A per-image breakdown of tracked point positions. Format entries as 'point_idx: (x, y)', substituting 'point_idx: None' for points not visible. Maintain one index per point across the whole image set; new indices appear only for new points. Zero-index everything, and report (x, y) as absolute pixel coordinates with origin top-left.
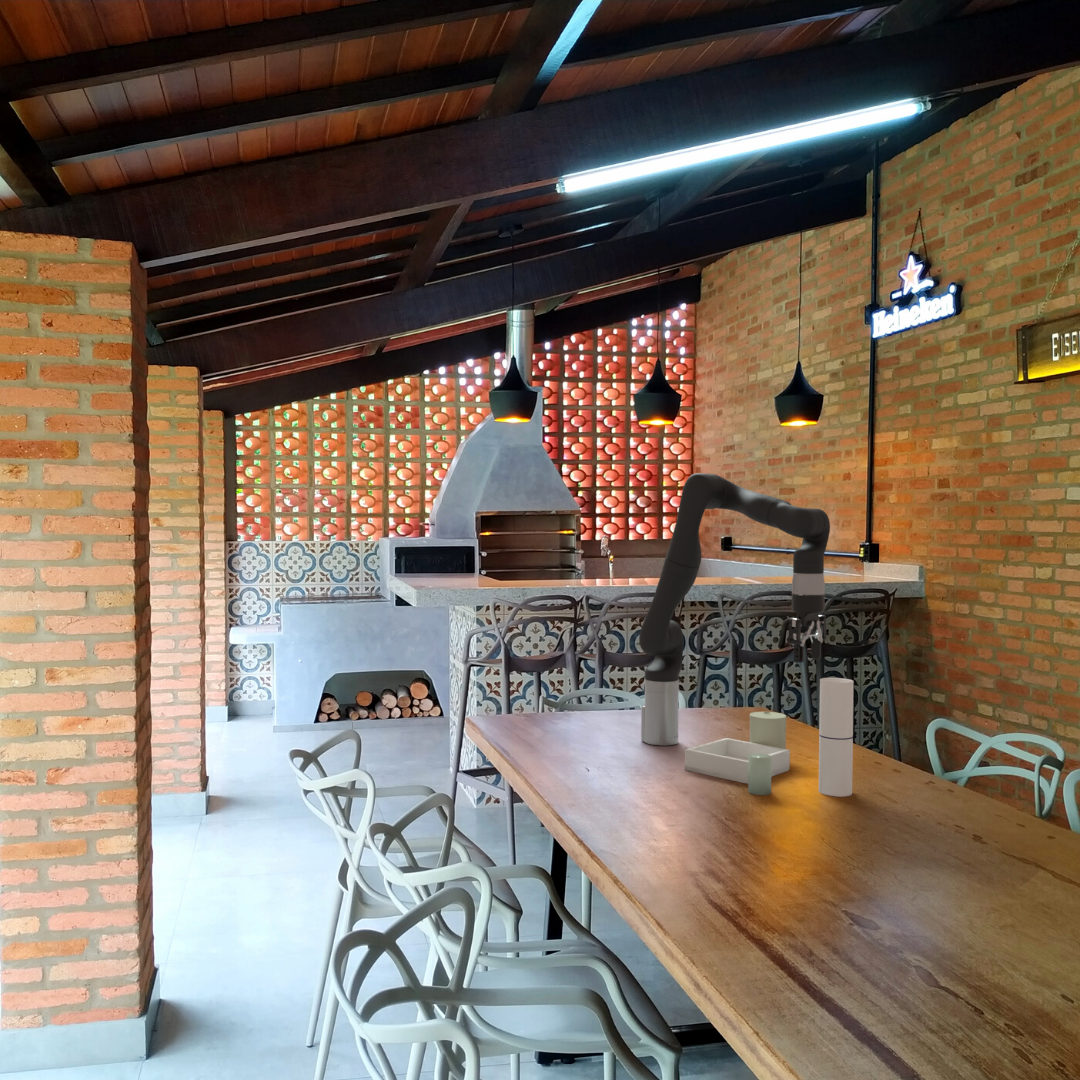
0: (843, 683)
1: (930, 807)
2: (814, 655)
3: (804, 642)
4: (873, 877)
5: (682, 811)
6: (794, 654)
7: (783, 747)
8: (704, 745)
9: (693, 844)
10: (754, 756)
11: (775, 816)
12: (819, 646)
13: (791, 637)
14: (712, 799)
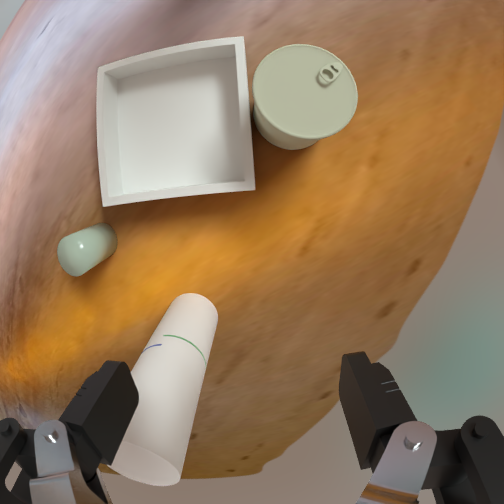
0: (123, 474)
1: (232, 409)
2: (346, 380)
3: (103, 489)
4: (52, 410)
5: (3, 232)
6: (78, 393)
7: (299, 145)
8: (147, 58)
9: None
10: (64, 251)
11: (58, 312)
12: (357, 452)
13: (2, 456)
14: (40, 221)
